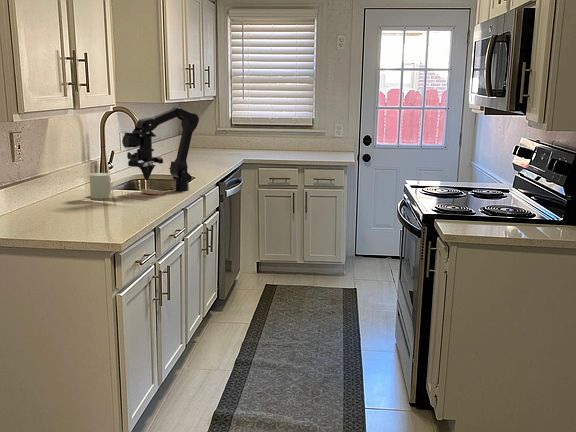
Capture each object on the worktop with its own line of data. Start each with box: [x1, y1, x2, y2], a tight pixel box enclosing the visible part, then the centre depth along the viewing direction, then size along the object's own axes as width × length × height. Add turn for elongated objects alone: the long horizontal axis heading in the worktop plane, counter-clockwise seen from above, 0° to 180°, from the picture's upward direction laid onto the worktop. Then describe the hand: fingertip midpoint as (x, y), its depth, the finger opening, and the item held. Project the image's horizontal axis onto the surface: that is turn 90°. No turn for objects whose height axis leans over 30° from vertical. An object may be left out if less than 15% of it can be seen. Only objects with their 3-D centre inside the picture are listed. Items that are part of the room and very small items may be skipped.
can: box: [88, 172, 112, 202], centre depth 266 cm, size 9×9×12 cm
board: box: [115, 191, 167, 202], centre depth 270 cm, size 15×18×1 cm
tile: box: [140, 188, 167, 195], centre depth 278 cm, size 2×8×9 cm
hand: (146, 180), depth 272 cm, fingers closed
